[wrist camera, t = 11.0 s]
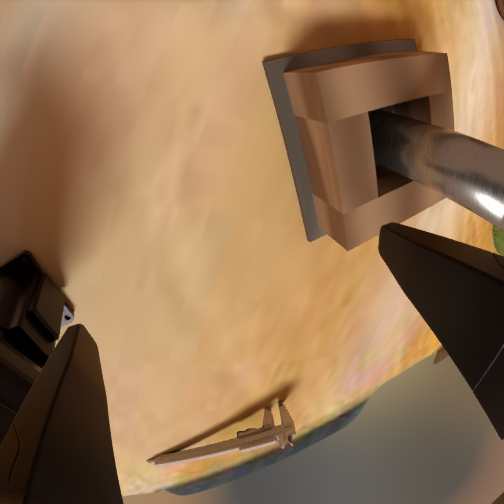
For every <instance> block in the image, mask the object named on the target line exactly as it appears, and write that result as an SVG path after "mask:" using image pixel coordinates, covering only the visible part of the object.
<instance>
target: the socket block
mask: <svg viewBox="0 0 504 504" xmlns="http://www.w3.org/2000/svg"><path fill="white" fill-rule="evenodd" d="M262 63H263V66H264V70H265V73H266V77H267V80H268V84H269V87H270V91H271V94H272V98H273V101H274V105H275V109H276V112H277V116H278V120H279V123H280V127H281V131H282V135H283V139H284V143H285V146H286V150H287V154H288V158H289V162H290V166H291V171H292V175H293V179H294V183H295V187H296V191H297V196H298V200H299V204H300V209H301V213H302V218H303V222H304V227H305V231H306V236H307V240H308V241H309V242H312V241H314V240H316V239H318V238H320V237H322V236H324V235H326V234H328V235H329V236H330V237H332V238H333V239H334V240H335V241H336V242H338V243H339V244H340V245H341V246H342V247H343V248H345V249H346V250H347V251H349V250H351V249H353V248H355V247H356V246H358V245H360V244H362V243H364V242H366V241H368V240H370V239H372V238H374V237H375V236H377V235H379V234H380V228H381V226H382V225H385V224H388V223H391V222H394V223H398V224H400V223H401V222H403V221H405V220H407V219H409V218H411V217H412V216H414V215H416V214H418V213H420V212H421V211H423V210H425V209H427V208H429V207H430V206H432V205H434V204H436V203H437V202H439V201H441V200H443V199H445V198H446V197H445V196H443V195H441V194H439V193H437V192H435V191H433V190H431V189H430V188H428V187H426V186H424V185H422V184H420V183H418V182H416V181H414V180H412V179H410V178H407V177H405V176H403V175H401V174H399V173H397V172H395V171H393V170H391V169H388V168H386V167H384V166H382V165H380V164H377V163H375V160H374V152H373V144H372V136H371V129H370V122H369V116H368V111H372V110H375V109H379V110H383V111H387V112H391V113H395V114H399V115H403V116H407V117H410V118H414V119H417V120H421V121H424V122H428V123H431V124H434V125H437V126H441V127H444V128H447V129H450V130H453V131H454V114H453V100H452V89H451V79H450V71H449V63H448V57H447V53H437V52H424V51H417V48H416V43H415V39H404V40H390V41H379V42H370V43H361V44H354V45H346V46H340V47H333V48H327V49H322V50H316V51H311V52H306V53H301V54H296V55H292V56H287V57H283V58H278V59H274V60H270V61H266V62H262Z"/></svg>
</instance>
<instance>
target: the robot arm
mask: <svg viewBox="0 0 504 504" xmlns="http://www.w3.org/2000/svg"><path fill="white" fill-rule="evenodd" d="M378 249H379V253H380V255H381V257H382V259H383V260H384V262H385V263H386V265H387V266H388V268H389V270H390V271H391V273H392V274H393V276H394V277H395V279H396V281H397V282H398V284H399V286H400V287H401V289H402V290H403V292H404V293H405V294H406V296H407V297H408V299H409V300H410V301H411V303H412V304H413V305H414V307H415V308H416V309H417V311H418V312H419V313H420V315H421V316H422V317H423V319H424V320H425V321H426V323H427V324H428V326H429V327H430V328H431V330H432V331H433V333H434V334H435V335H436V337H437V338H438V340H439V341H440V343H441V344H442V345H443V347H444V348H445V350H446V351H447V353H448V354H449V356H450V357H451V359H452V360H453V362H454V363H455V365H456V366H457V368H458V369H459V371H460V372H461V374H462V375H463V377H464V378H465V380H466V381H467V383H468V385H469V386H470V388H471V389H472V391H473V393H474V394H475V396H476V398H477V399H478V401H479V403H480V404H481V406H482V408H483V409H484V411H485V412H486V414H487V416H488V418H489V420H490V421H491V423H492V425H493V426H494V428H495V430H496V432H497V434H498V435H499V437H500V438H501V439H502V440H503V439H504V256H501V255H498V254H495V253H491V252H489V251H486V250H483V249H480V248H477V247H474V246H471V245H468V244H465V243H462V242H458V241H455V240H452V239H449V238H446V237H442V236H439V235H436V234H433V233H429V232H426V231H422V230H419V229H416V228H412V227H409V226H405V225H402V224H398V223H394V222H391V223H388V224H385V225H382V226H381V228H380V234H379V245H378ZM23 257H26V258H27V259H28V260H27V261H26V260H24V258H23ZM65 315H69V316H70V317H67V316H65ZM73 320H74V313H73V311H72V310H71V309H70V307H69V306H68V305H67V303H66V302H65V298H64V297H63V296H62V294H61V293H60V292H59V290H58V289H57V287H56V286H55V285H54V283H53V282H52V281H51V279H50V278H49V276H48V275H47V274H45V273H44V272H43V271H42V269H41V268H40V266H39V265H38V263H37V262H36V260H35V259H34V257H33V256H32V254H31V253H30V252H28V251H23V252H21V253H19V254H18V255H16V256H15V257H13V258H11V259H10V260H8V261H7V262H5V263H4V264H2V265H1V266H0V504H123V500H122V495H121V490H120V485H119V480H118V475H117V470H116V464H115V458H114V452H113V446H112V439H111V431H110V424H109V415H108V406H107V397H106V391H105V386H104V380H103V375H102V369H101V364H100V358H99V351H98V347H97V344H96V342H95V341H94V339H93V338H92V337H91V335H90V334H89V332H88V331H87V329H86V328H85V327H84V325H82V324H76V325H73V326H70V327H68V328H67V330H66V331H65V333H64V334H63V336H62V338H61V339H60V341H59V342H58V344H57V345H56V347H55V342H56V340H58V339H59V335H60V328H61V327H62V326H64V325H66V324H68V323H71V322H72V321H73ZM492 504H504V492H503V493H502V495H500V496H499V497H498V498H497V499H496V500H495V501H494V502H493V503H492Z"/></svg>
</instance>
